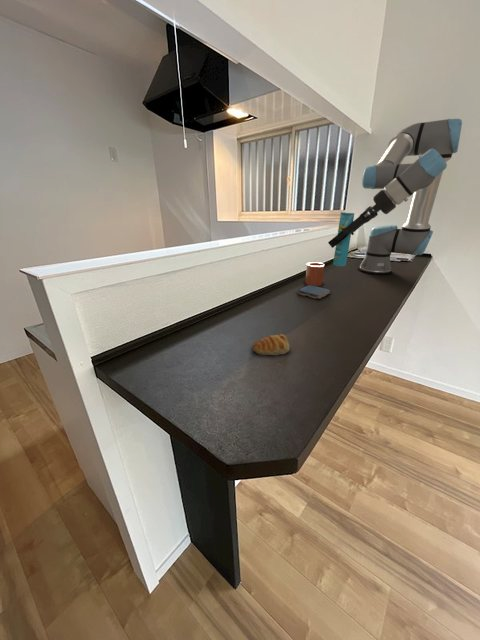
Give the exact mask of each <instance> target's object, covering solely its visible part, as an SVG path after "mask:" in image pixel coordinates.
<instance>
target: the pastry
mask: <svg viewBox="0 0 480 640" xmlns="http://www.w3.org/2000/svg"><path fill="white" fill-rule="evenodd" d="M252 351H253V352H255V353H256V354H258V355H260V356H261V355H262V356H279V355H285V354H286V353H288V352H289V351H290V344H289V339H288V338H287V336H286V335H285V334H282V333H280V334H274V335H273V334H272V335H266V337H264V338H261V339H259V340H257V341H255V342H254V343H253V345H252Z"/></svg>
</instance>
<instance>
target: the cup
mask: <svg viewBox="0 0 480 640" xmlns="http://www.w3.org/2000/svg"><path fill="white" fill-rule="evenodd" d="M325 267H326V265H325V263H322V262H307V263H306V270H305V279H304V284H305V285H306V286H308V285H312V286H313V285H314V286H316V287H321V286H322V285H323V283H324V282H323V281H324V274H325Z"/></svg>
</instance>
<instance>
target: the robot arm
mask: <svg viewBox="0 0 480 640" xmlns="http://www.w3.org/2000/svg"><path fill="white" fill-rule="evenodd" d="M462 125H463V120H462V119H461V118H447V119H439V120H431V121H426V122H417V123H413V124H411V125H409V126H407V127H405V128H403V129H401V130H399V131H398V132H397V133H396V134H395V135H394V136H393V137H392V138H391V139H390V140H389V142H388V144H387V147H386V150H385V152H384V154H383V155H382V157H380V160H379V161H378V162H377V164H372V165H368V166H366V167H365V169H364V171H363V175H362V179H361V181H362V182H361V183H362V185H361V186H362V188H363V189H368V190H369V189H370V190H379V191H378V192H377V193H376V194H375V195H374V196H373V197H372V200H373V202H374V205H373V206H372V205H370V206H368V207H367V208H365V210H364V211H363V212H361V214H359V216H358V217H357V218H355V219H354V220H353V222H352V223H351V224H349V225H348V226H347V227H346V228H344V229H343V228H342V229H341V230H342V231H341V232H340V233H339V234H338V233H337V234H336V235H335V236H333V238H332V239H330V240H329V241H328V242H327V243H328V244H329V246H330V247H331V249H333V248H334V247H335V248H336V245H337V244H338V243H340V242H341V241H342V240H343V239H345V238H346V237H347V236H348V235H349V234H350V233H351V236H354V235H355V232H357V230H359V229H360V228H361V227H362V226H364V224H367V223H369V222H370V221H371V220H373V219H375V218H376V217H377V216H378V215H379V212H382V213H383V214H384V215H388V214H389V213H390V212H392V211H394V210H395V209H396V208H397V206H400V205H401V204H402V203H403V202H405V203H407V202H408V200H409V198H410V197H411V196H413V197H412V201H411V203H410V208H409V213H408V217H407V220H406V222H404V224H402V225H401V228H398V225H396V224H395V225H393V224H391V225H379V226H374V227H373V228H371V230H370V233H369V236H368V243H367V246H366V247H367V248H366V253H365V256H364V258H363V259H362V262H361V263H360V265H359V271H361V272H362V273H367V274H370V275H388V274H390V273H391V270H392V266H391V255H392V253H393V254H402V255H410V256H421V255H423V254H424V253H425V251H426V249H427V247H428V245H429V243H430V240H431V238H432V236H433V233H434V231H433V230H432V229H431V228H432V226H431V225H430V218H431V214H432V211H433V207H434V204H435V200H436V197H437V193H438V190H439V187H440V183H441V181H442V180H441V179H442V176H443V172H444V171H445V170H446V169H447V167H448V164H447V162H448V161H450V160H451V159H452V157H453V154H457V152H458V150H459V144H460V140H461V139H460V138H461V131H462ZM410 156H411V157H412V156H414V157H415V156H418V158H417V159H416V160H415V161H414V162H412V163H411V162H410V163H402V162H403V161H404V159H405V158H406V157H410Z"/></svg>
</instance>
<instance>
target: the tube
mask: <svg viewBox="0 0 480 640" xmlns="http://www.w3.org/2000/svg"><path fill="white" fill-rule="evenodd" d="M339 216H340V217H339V222H338V229H337V235H338V234H339V233H340V232H341V231H342V230H341V229H342V228H343V229H344V228H346V227H347V226H348V225H349V224H351V223H352V222H353V221H354V220H355V213H353V212H342V211H340V215H339ZM351 236H352V234H351V233H350V234H349V235H348V236H347V237H346V238H345V239H343V240H342V241H341V242H340V243H338V244H337V245H336V246H335V248H334V254H333V261H332V265H333V266H335V267H345V266H346V267H347V261H348V256H349V251H350V250H349V249H350V243H351Z"/></svg>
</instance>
